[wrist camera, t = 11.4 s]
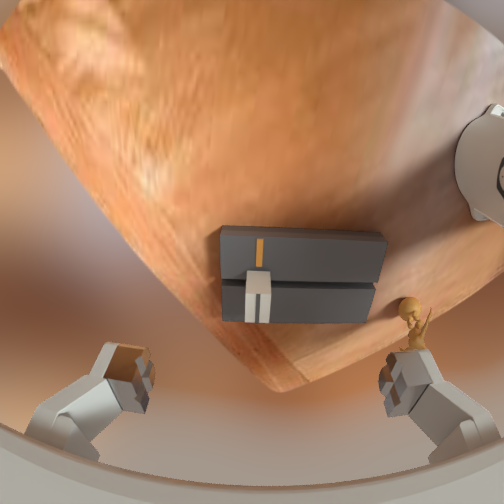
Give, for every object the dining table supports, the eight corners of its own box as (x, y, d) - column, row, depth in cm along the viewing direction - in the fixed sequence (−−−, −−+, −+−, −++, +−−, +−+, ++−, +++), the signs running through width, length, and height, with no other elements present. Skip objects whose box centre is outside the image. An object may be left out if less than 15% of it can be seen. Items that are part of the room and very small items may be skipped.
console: (380, 232, 41) (388, 242, 38) (360, 310, 48) (365, 323, 45) (222, 225, 41) (219, 235, 38) (224, 308, 48) (222, 321, 45)
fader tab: (269, 265, 42) (271, 294, 36) (267, 292, 44) (268, 323, 38) (247, 264, 42) (245, 293, 36) (246, 291, 44) (244, 322, 38)
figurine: (400, 322, 49) (424, 372, 39) (375, 315, 48) (396, 368, 38) (426, 285, 45) (458, 333, 35) (401, 275, 44) (432, 326, 34)
